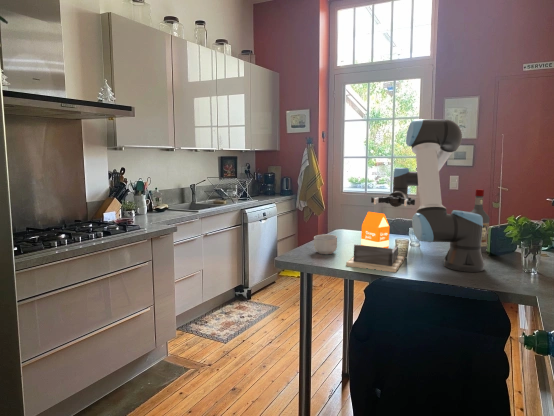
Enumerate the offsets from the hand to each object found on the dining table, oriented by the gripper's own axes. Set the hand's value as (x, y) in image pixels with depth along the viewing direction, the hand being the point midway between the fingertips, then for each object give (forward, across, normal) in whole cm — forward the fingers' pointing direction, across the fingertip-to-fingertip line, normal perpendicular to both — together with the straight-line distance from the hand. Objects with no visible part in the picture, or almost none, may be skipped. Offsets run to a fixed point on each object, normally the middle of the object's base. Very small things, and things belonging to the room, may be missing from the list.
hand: (389, 202), depth 186 cm
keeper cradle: (+18, +2, -25) cm, 30 cm away
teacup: (+10, +27, -24) cm, 38 cm away
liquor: (-30, -37, -24) cm, 54 cm away
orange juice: (+18, +3, -23) cm, 29 cm away
